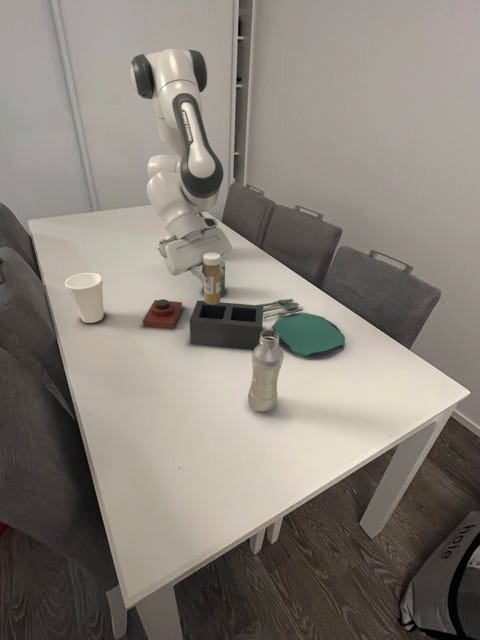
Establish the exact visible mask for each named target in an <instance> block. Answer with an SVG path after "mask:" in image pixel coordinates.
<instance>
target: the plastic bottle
mask: <svg viewBox="0 0 480 640" xmlns="http://www.w3.org/2000/svg"><path fill="white" fill-rule="evenodd" d="M259 342H260V343H259V344H258V345H257V346H256V347H255V348H254V350H252V353H251V362H252V363H251V364H252V379H251V384H250V387H249V390H248V393H247V400H248V404H249V406H250V407H251V408H252V409H253V410H255V411H257V412H259V413H260V412H261V413H265V412H269V411H270V410H272V409H274V408H275V406H276V404H277V402H278V398H279V397H278V381H279V375H280V371H281V368H282V365H283V362H284V358H285V355H284V351H283V349H282V348H281V347H280V341H279V334H278V333H277V332H276V331H275V329H265V330H264V329H263V330H262V332H261V334H260V340H259Z"/></svg>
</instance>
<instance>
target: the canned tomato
mask: <svg viewBox="0 0 480 640" xmlns="http://www.w3.org/2000/svg"><path fill="white" fill-rule="evenodd" d="M221 264H222V269H223V271H224V274H222V275H220V297H223V296H224V295H225V293H226V288H225V287H226V263H225V261H224V260H222V259H221ZM201 272H202V273H203V274H204V265H201ZM202 294H203V295H204V283H202Z"/></svg>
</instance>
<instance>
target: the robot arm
mask: <svg viewBox="0 0 480 640" xmlns="http://www.w3.org/2000/svg"><path fill="white" fill-rule="evenodd" d="M130 64H131V66H130V80H131V83H132V86H133V88H134V89H135V91H136V92H137V95H138V96H140V97H141V98H142V99H147V100H153V104H154V112H155V118H156V124H157V129H158V135H159V139H160V141H161V142H162V144H163V145H164V146H166V147H167V148H168V149H170V150H171V151H172V152H173V153H174V154H165V153H164V154H157V155H153V156H151V157H150V159H149V160H148V162H147V167H146V170H147V171H146V172H147V175H148V177H149V180H148V182H147V185H146V194H147V197H148V200H149V202H150V204H151V206H152V207H153V210H154V212H155V214H156V215H157V217H158V218H159V219H160V220H161V221H162V223H163V224H164V229H165V230H166V233H167V235H166V238H164V239H161V240H160V241H159V242H158V243H157V250H158V252H159V253H160V255H161V256H162V259H163V262H164V264H165V266H166V269H167V270H168V272H169V274H170V275H172V276H174V277H176V276H180V275H181V274H184V273H186V272H188V271H190V273H191V274H192V275H193V276H194V277H196V278H197V279H199V281H200V282H201V284H203V283H205V282H207V281H208V280H209V277H207V274H203V273H202V270H200V267H202V265H204V264H203V255H204V254H205V253H209V252H214V253H218V254H220V255H221V258H223V257H226V256H228V255H229V254H230V253H231V252H232V249H233V246H232V243H231V242H230V240H229V238H228V237H227V235H226V233H225V232H224V231H223V229H222V228H220V227H218V226H219V222H218V221H217V220H216V218H213V217H204V216H203V214H201V213H205V212H207V211H209V210H211V209H213V208H214V206H215V205H216V204H217V202H218V198H219V194H220V190H221V185H222V183H223V180H224V167H223V164H222V162H221V161H220V159H219V157H218V155H216V152H214V150H213V149H212V147H211V145H210V143H209V140H208V136H207V133H206V129H205V125H204V121H203V105H202V104H203V103H202V97H201V93H202V92H204V90H205V89H206V88H207V85H208V79H209V78H208V77H209V71H208V66H207V63H206V60H205V57H204V55H203V54H202V53H201V52H200V51H199V50H195V49H188V50H182V49H177V48H166V49H164V50H162V51H157V52H152V53H148V54H145V53H141V54H138V55H135V56H133V59H132V60H131V63H130ZM198 215H199V216H198ZM222 274H224V271H223V269H222V264H221V263H220V275H222Z"/></svg>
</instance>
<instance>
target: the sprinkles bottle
mask: <svg viewBox="0 0 480 640" xmlns="http://www.w3.org/2000/svg"><path fill="white" fill-rule="evenodd" d="M221 260H222V257H221V255H220V254H218V253H214V252H209V253H205V254H204V255H203V264H204V274H207V277H209V280H208V281H207V282H205V283H204V294H203V296H204V298H203V301H205V303H207V304H211V305H213V304H217V303H219V302H221V296H220V263H221Z"/></svg>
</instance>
